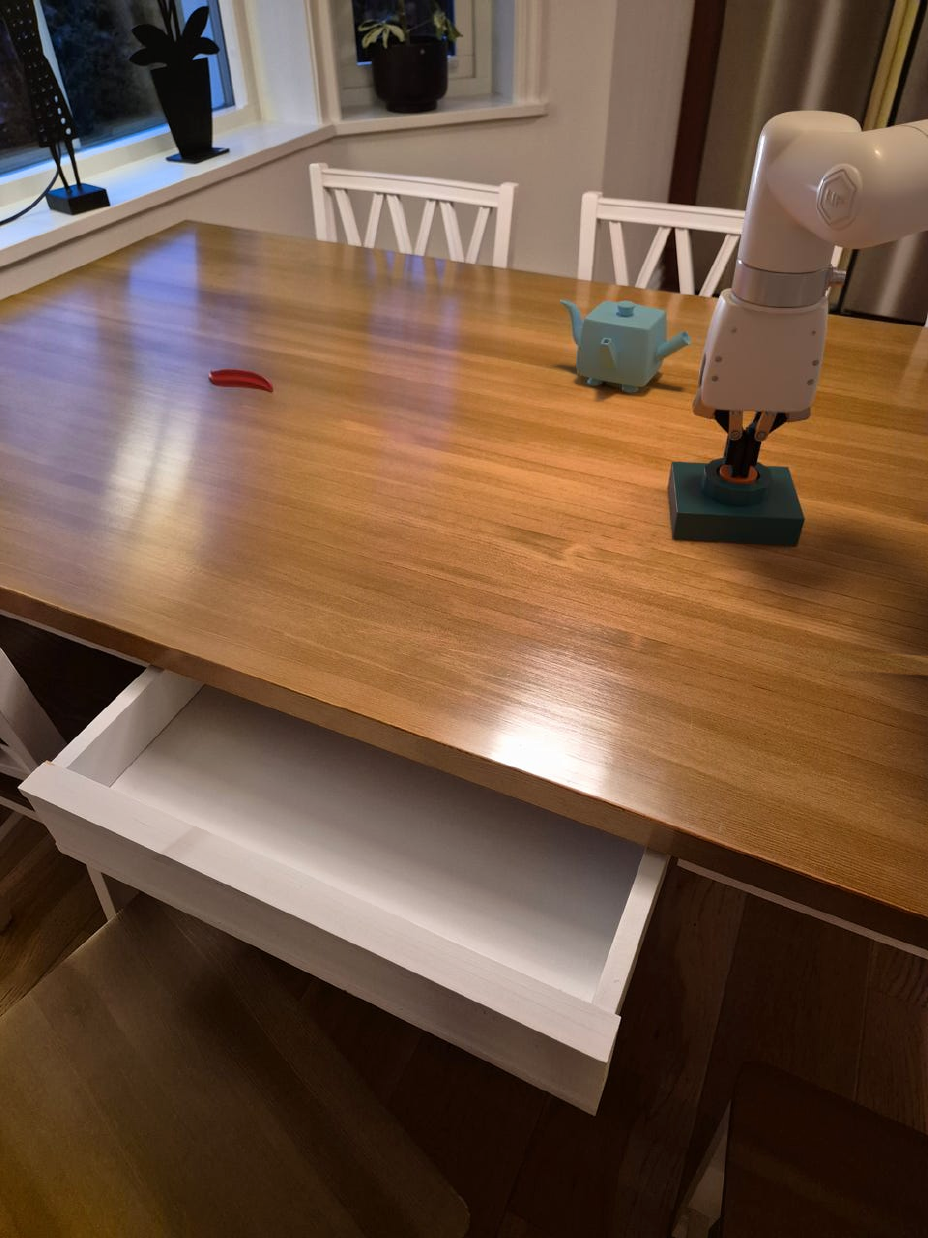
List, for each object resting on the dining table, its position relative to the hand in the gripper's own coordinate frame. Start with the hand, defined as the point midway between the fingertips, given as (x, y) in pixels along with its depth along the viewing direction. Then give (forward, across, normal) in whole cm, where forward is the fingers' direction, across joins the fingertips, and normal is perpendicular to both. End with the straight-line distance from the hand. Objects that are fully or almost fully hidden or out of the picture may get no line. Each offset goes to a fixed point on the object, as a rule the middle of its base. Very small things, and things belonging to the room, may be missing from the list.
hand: (737, 470), depth 83 cm
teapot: (+6, +11, -32) cm, 34 cm away
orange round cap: (+2, 0, 0) cm, 2 cm away
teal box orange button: (+5, 0, 0) cm, 5 cm away
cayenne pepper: (+6, +62, -27) cm, 68 cm away
